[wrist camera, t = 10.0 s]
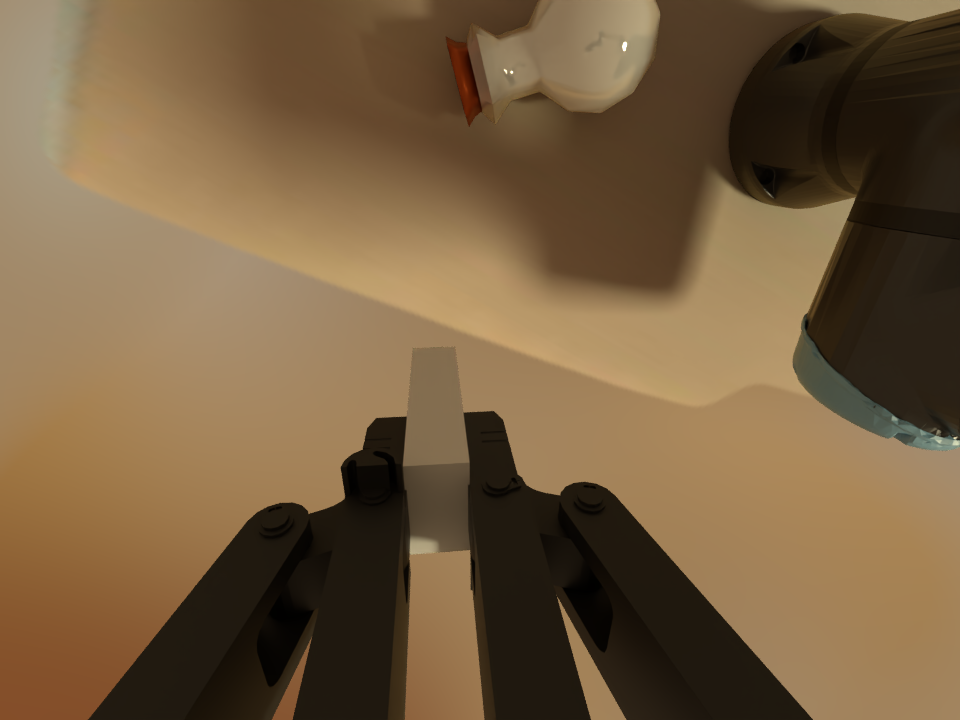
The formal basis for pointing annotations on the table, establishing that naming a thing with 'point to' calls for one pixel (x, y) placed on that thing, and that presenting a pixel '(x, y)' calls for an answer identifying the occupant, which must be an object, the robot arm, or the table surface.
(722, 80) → the table surface
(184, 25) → the table surface
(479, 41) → the potion bottle
